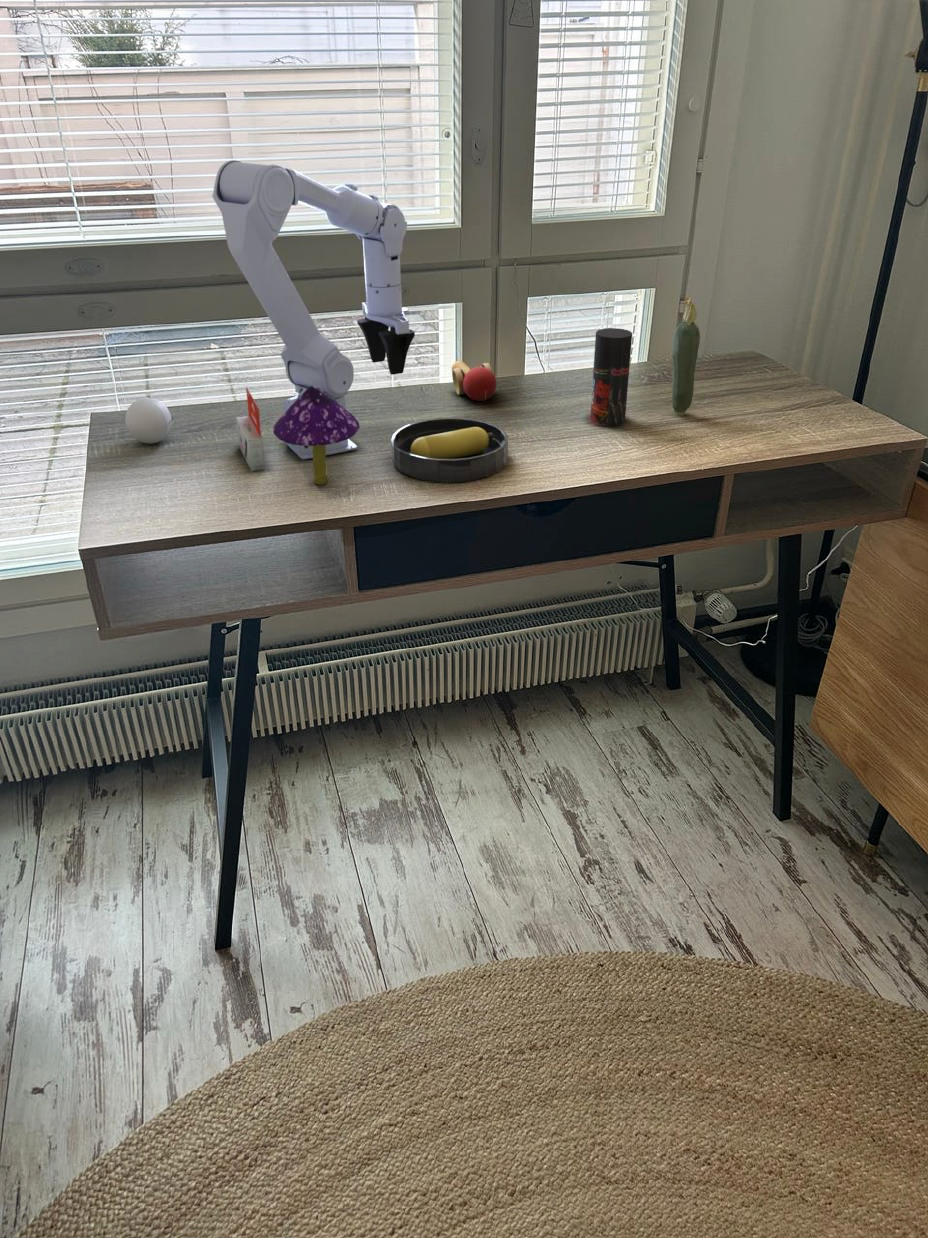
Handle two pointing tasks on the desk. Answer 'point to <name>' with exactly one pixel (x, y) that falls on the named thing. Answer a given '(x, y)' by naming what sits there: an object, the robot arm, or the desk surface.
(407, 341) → the robot arm
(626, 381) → the deodorant
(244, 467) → the desk surface
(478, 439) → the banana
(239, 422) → the ink box
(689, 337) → the vegetable
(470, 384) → the kendama
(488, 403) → the desk surface
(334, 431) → the decorative mushroom
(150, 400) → the white egg
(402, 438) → the pan
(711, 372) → the desk surface
